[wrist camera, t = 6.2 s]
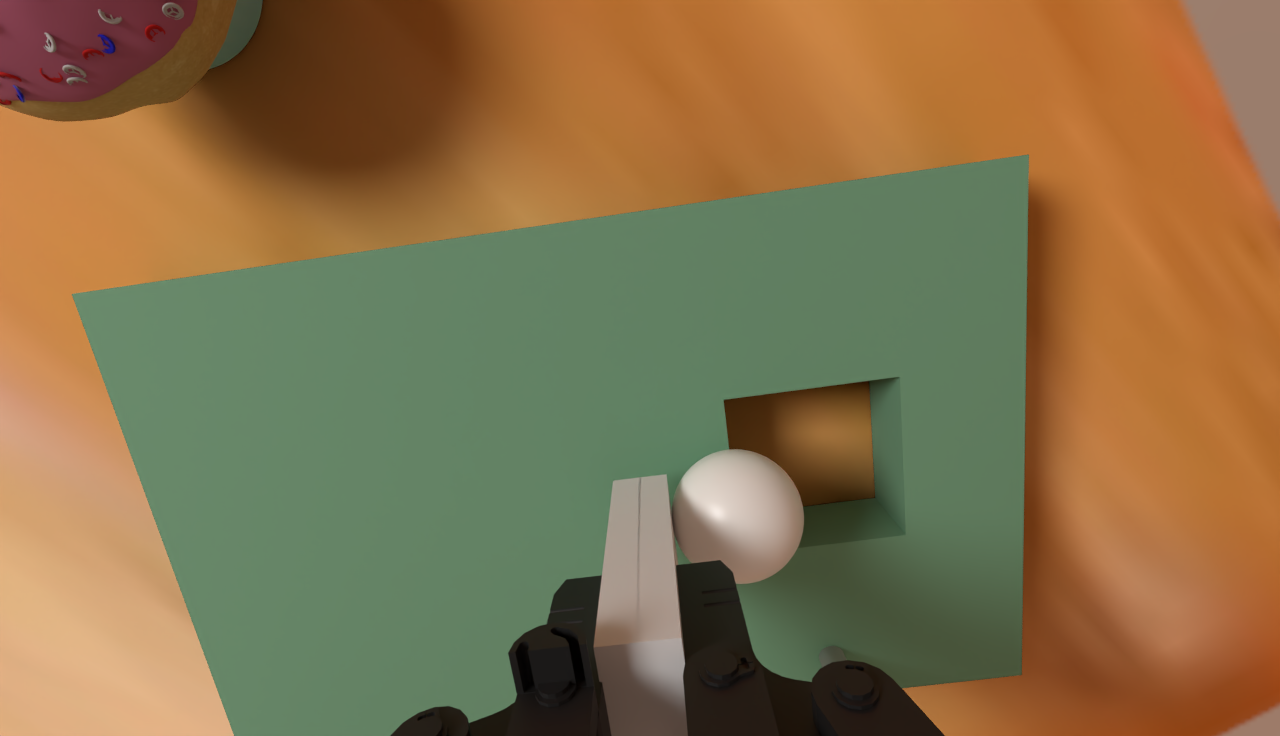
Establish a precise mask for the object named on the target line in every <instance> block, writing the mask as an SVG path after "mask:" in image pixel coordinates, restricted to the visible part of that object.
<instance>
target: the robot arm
mask: <svg viewBox="0 0 1280 736" xmlns="http://www.w3.org/2000/svg"><path fill="white" fill-rule="evenodd" d="M508 655H509V660H510V665H511V669H512V674H513V679H514V683H515V688H516V693H517V696H516V700H515V702H514V703H513V704H511V705H510V706H508V707H507V708H505V709H503V710H501V711H499V712H497V713H494V714H492V715H489V716H487V717H484V718H481V719H478V720H476V721H473V722H470V723H469V722H468V718H467V716H466V715H465V714H464V713H463V712H462V711H461V710H460V709H457V708H454V707H450V706H443V707H433V708H430V709H428V710H425V711H422V712H419V713H417V714H416V715H414V716H412V717H411V718H409V719H408V720H406V721H405V722H403V723H402V724H401V725H400V726H399V727H398V728H397V729H396V730H395V731H394V732H393V733H392V734H391V735H390V736H945V735H944V734H943V733H942V732H941V731H940V730H939V729H938V728H937V727H936V726H935V724H934V723H933V722H932V721H931V720H930V719H929V718H928V717H927V716H926V715H925V713H924V712H923V711H922V710H921V709H920V708H919V707H918V706H917V705H916V704H915V702H914V701H913V700H912V699H911V698H910V697H909V696H908V695H907V694H906V693H905V692H904V690H903V689H902V688H901V687H900V686H899V685H898V684H897V683H896V682H895V681H894V679H893V678H891V677H890V676H889V675H887V674H886V673H885V672H884V671H882V670H881V669H880V668H877V667H875V666H872V665H870V664H867V663H865V662H859V661H851V660H845V661H837V662H832V663H830V664H828V665H826V666H824V667H822V668H820V669H819V670H818V672H817V673H816V674H815V675H814V677H813V678H812V682H809V681H802V680H795V679H791V678H787V677H782V676H780V675H778V674H776V673H773V672H771V671H770V670H768V669H767V668H766V667H764V666H763V665H762V664H761V663H760V662H759V661H758V659H757V658H756V656H755V654H754V652H753V649H752V645H751V641H750V637H749V633H748V629H747V626H746V622H745V618H744V614H743V610H742V606H741V603H740V598H739V594H738V590H737V586H736V583H735V579H734V575H733V572H732V571H731V570H730V569H729V568H728V567H727V566H726V565H725V564H724V563H723V562H722V561H721V560H716V561H707V562H699V563H690V564H681V565H678V558H677V550H676V543H675V535H674V530H673V522H672V513H671V505H670V497H669V490H668V482H667V474H664V475H656V476H648V477H639V478H631V479H623V480H614V481H613V486H612V495H611V503H610V512H609V520H608V528H607V537H606V545H605V554H604V562H603V571H602V575H600V576H591V577H583V578H574V579H566V580H565V581H564V583H563V584H562V585H561V586H560V587H559V589H558V590H557V591H556V592H555V593H554V596H553V600H552V604H551V608H550V613H549V616H548V620H547V624H545V625H541V626H538V627H536V628H534V629H532V630H530V631H528V632H526V633H524V634H523V635H522V636H521V637H520V638H518V639H517V640H516V641H515V642H514V643H513V645H512V647H511V649H510V650H509V652H508Z"/></svg>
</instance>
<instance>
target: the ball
mask: <svg viewBox="0 0 1280 736" xmlns="http://www.w3.org/2000/svg"><path fill="white" fill-rule="evenodd" d="M671 513H672V522H673V530H674V535H675V537H676V540H677V542H678V545H679V547H680V548H681V550H682V552H683V553H684V555H685V556H686V557H687V559H688V560H689V561H690V562H691V563H699V562H707V561H716V560H721V561H722V562H723V563H724V564H725V565H726V566H727V567H728V568H729V569H730V570H731V571H732V572H733V575H734V579H735V583H736V584H748V583H754V582H758V581H761V580H764V579H766V578H768V577H770V576H772V575H774V574H776V573H777V572H778V571H780V570H781V569H782V568H783V567H784V566H785V565H786V564H787V563H788V562H789V560H790V559H791V558H792V557H793V555H794V554H795V552H796V550H797V548H798V546H799V543H800V541H801V537H802V533H803V527H804V510H803V505H802V501H801V498H800V495H799V492H798V490H797V488H796V486H795V484H794V482H793V481H792V479H791V478H790V477H789V475H788V474H787V473H786V472H785V471H784V470H783V469H782V468H781V467H780V466H779V465H778V464H776V463H775V462H774V461H772V460H771V459H769V458H767V457H765V456H763V455H761V454H758V453H755V452H752V451H748V450H742V449H729V450H722V451H718V452H715V453H712V454H710V455H708V456H705V457H704V458H702V459H701V460H699V461H698V462H696V463H695V464H694V465H693V466H692V467H690V469H689V470H688V471H687V472H686V473H685V474H684V476H683V477H682V479H681V480H680V482H679V484H678V486H677V488H676V491H675V494H674V498H673V503H672V511H671Z"/></svg>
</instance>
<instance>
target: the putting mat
mask: <svg viewBox="0 0 1280 736" xmlns="http://www.w3.org/2000/svg"><path fill="white" fill-rule="evenodd" d="M1028 173H1029V155H1022V156H1016V157H1009V158H1002V159H995V160H988V161H981V162H974V163H968V164H961V165H954V166H947V167H940V168H933V169H926V170H920V171H913V172H906V173H899V174H892V175H885V176H878V177H872V178H865V179H858V180H851V181H844V182H837V183H830V184H824V185H817V186H810V187H803V188H796V189H789V190H782V191H776V192H769V193H762V194H755V195H748V196H741V197H734V198H728V199H721V200H714V201H707V202H700V203H693V204H686V205H679V206H673V207H666V208H659V209H652V210H645V211H638V212H631V213H625V214H618V215H611V216H604V217H597V218H590V219H583V220H577V221H570V222H563V223H556V224H549V225H542V226H535V227H529V228H522V229H515V230H508V231H501V232H494V233H487V234H481V235H474V236H467V237H460V238H453V239H446V240H439V241H433V242H426V243H419V244H412V245H405V246H398V247H391V248H385V249H378V250H371V251H364V252H357V253H350V254H343V255H337V256H330V257H323V258H316V259H309V260H302V261H295V262H289V263H282V264H275V265H268V266H261V267H254V268H247V269H241V270H234V271H227V272H220V273H213V274H206V275H199V276H193V277H186V278H179V279H172V280H165V281H158V282H151V283H145V284H138V285H131V286H124V287H117V288H110V289H103V290H97V291H90V292H83V293H76V294H72V296H73V299H74V301H75V304H76V307H77V310H78V312H79V315H80V318H81V320H82V323H83V326H84V329H85V331H86V334H87V337H88V340H89V342H90V345H91V348H92V350H93V353H94V356H95V359H96V361H97V364H98V367H99V369H100V372H101V375H102V378H103V380H104V383H105V386H106V388H107V391H108V394H109V397H110V399H111V402H112V405H113V407H114V410H115V413H116V416H117V418H118V421H119V424H120V426H121V429H122V432H123V435H124V437H125V440H126V443H127V446H128V448H129V451H130V454H131V456H132V459H133V462H134V465H135V467H136V470H137V473H138V475H139V478H140V481H141V484H142V486H143V489H144V492H145V494H146V497H147V500H148V503H149V505H150V508H151V511H152V513H153V516H154V519H155V522H156V524H157V527H158V530H159V533H160V535H161V538H162V541H163V543H164V546H165V549H166V552H167V554H168V557H169V560H170V562H171V565H172V568H173V571H174V573H175V576H176V579H177V581H178V584H179V587H180V590H181V592H182V595H183V598H184V600H185V603H186V606H187V609H188V611H189V614H190V617H191V619H192V622H193V625H194V628H195V630H196V633H197V636H198V639H199V641H200V644H201V647H202V649H203V652H204V655H205V658H206V660H207V663H208V666H209V668H210V671H211V674H212V677H213V679H214V682H215V685H216V687H217V690H218V693H219V696H220V698H221V701H222V704H223V706H224V709H225V712H226V715H227V717H228V720H229V723H230V725H231V728H232V731H233V734H234V736H390V735H391V734H392V733H393V732H394V731H395V730H396V729H397V728H398V727H399V726H400V725H401V724H402V723H403V722H405V721H406V720H408V719H409V718H411V717H412V716H414V715H416V714H417V713H419V712H422V711H425V710H428V709H430V708H433V707H443V706H450V707H454V708H457V709H460V710H461V711H462V712H463V713H464V714H465V715H466V716H467V718H468V722H469V723H470V722H473V721H476V720H478V719H481V718H484V717H487V716H489V715H492V714H494V713H497V712H499V711H501V710H503V709H505V708H507V707H508V706H510V705H511V704H513V703H514V702H515V700H516V696H517V693H516V688H515V683H514V679H513V674H512V669H511V665H510V660H509V655H508V652H509V650H510V649H511V647H512V645H513V643H514V642H515V641H516V640H517V639H518V638H520V637H521V636H522V635H523V634H524V633H526V632H528V631H530V630H532V629H534V628H536V627H538V626H541V625H545V624H547V620H548V616H549V613H550V608H551V604H552V600H553V596H554V593H555V592H556V591H557V590H558V589H559V587H560V586H561V585H562V584H563V583H564V581H565V580H566V579H574V578H583V577H591V576H600V575H602V571H603V562H604V554H605V545H606V537H607V528H608V520H609V512H610V503H611V495H612V486H613V481H614V480H623V479H631V478H639V477H648V476H656V475H664V474H667V482H668V490H669V497H670V505H671V511H672V503H673V498H674V494H675V491H676V488H677V486H678V484H679V482H680V480H681V479H682V477H683V476H684V474H685V473H686V472H687V471H688V470H689V469H690V467H692V466H693V465H694V464H695V463H696V462H698V461H699V460H701V459H702V458H704V457H705V456H708V455H710V454H712V453H715V452H718V451H722V450H729V444H728V435H727V426H726V417H725V408H724V400H726V399H734V398H741V397H749V396H756V395H764V394H772V393H779V392H787V391H794V390H802V389H810V388H817V387H825V386H832V385H840V384H848V383H855V382H863V381H869V386H870V405H871V425H872V444H873V464H874V484H875V498H870V499H861V500H853V501H845V502H837V503H829V504H821V505H813V506H805V507H803V510H804V527H803V533H802V537H801V541H800V543H799V546H798V548H797V550H796V552H795V554H794V555H793V557H792V558H791V559H790V560H789V562H788V563H787V564H786V565H785V566H784V567H783V568H782V569H781V570H780V571H778V572H777V573H776V574H774V575H772V576H770V577H768V578H766V579H764V580H761V581H758V582H754V583H748V584H736V586H737V590H738V594H739V598H740V603H741V606H742V610H743V614H744V618H745V622H746V626H747V629H748V633H749V637H750V641H751V645H752V649H753V652H754V654H755V656H756V658H757V659H758V661H759V662H760V663H761V664H762V665H763V666H764V667H766V668H767V669H768V670H770V671H771V672H773V673H776V674H778V675H780V676H782V677H787V678H791V679H795V680H802V681H809V682H812V678H813V677H814V675H815V674H816V673H817V672H818V670H819V669H820V668H822V667H824V666H826V665H828V664H830V663H832V662H837V661H845V660H851V661H859V662H865V663H867V664H870V665H872V666H875V667H877V668H880V669H881V670H882V671H884V672H885V673H886V674H887V675H889V676H890V677H891V678H893V679H894V681H895V682H896V683H897V684H898V685H899V686H900V687H901V688H908V687H917V686H926V685H935V684H944V683H953V682H963V681H972V680H981V679H990V678H999V677H1008V676H1017V675H1022V613H1023V540H1024V467H1025V393H1026V320H1027V246H1028ZM675 543H676V550H677V558H678V565H681V564H690V563H691V562H690V561H689V560H688V559H687V557H686V556H685V555H684V553H683V552H682V550H681V548H680V547H679V545H678V542H677V540H676V537H675Z"/></svg>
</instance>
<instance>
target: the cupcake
mask: <svg viewBox="0 0 1280 736" xmlns="http://www.w3.org/2000/svg"><path fill="white" fill-rule="evenodd" d="M262 3H263V0H0V105H1V106H4V107H6V108H9V109H11V110H14V111H17V112H20V113H24V114H27V115H31V116H34V117H38V118H43V119H48V120H54V121H83V120H95V119H102V118H108V117H113V116H116V115H119V114H122V113H125V112H127V111H130V110H132V109H135V108H138V107H142V106H146V105H152V104H161V103H168V102H173V101H175V100H178V99H179V98H181V97H182V96H184V95H185V94H186V93H187V92H188V91H189V90H190V89H191V88H192V87H193V86H194V85H195V84H197V83H198V82H199V81H200V80H201V79H202V77H203V76H204V75H205V74H206V72H207V71H208V70H209V69H211V68H214V67H217V66H220V65H222V64H224V63H226V62H227V61H229V60H231V59H232V58H233V57H235V56H236V55H237V54H238V53H239V52H240V51H241V50H242V49H243V48H244V47H245V46H246V45H247V43H248V42H249V40H250V39H251V37H252V36H253V34H254V32H255V30H256V27H257V25H258V22H259V19H260V15H261V10H262Z"/></svg>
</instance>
